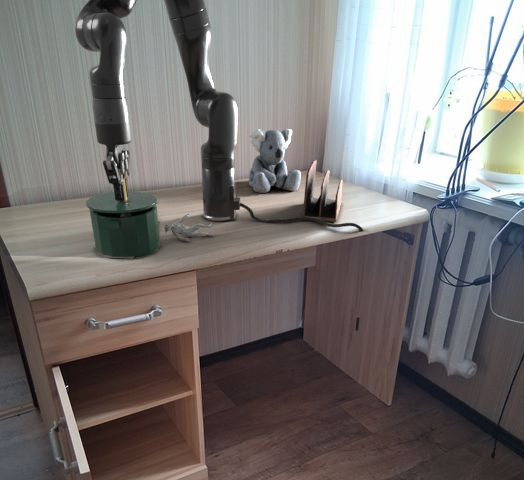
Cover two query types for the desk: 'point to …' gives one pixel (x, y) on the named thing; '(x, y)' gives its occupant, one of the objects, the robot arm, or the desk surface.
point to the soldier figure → (186, 229)
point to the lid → (121, 202)
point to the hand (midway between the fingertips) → (122, 198)
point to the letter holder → (321, 198)
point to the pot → (126, 233)
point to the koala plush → (272, 162)
